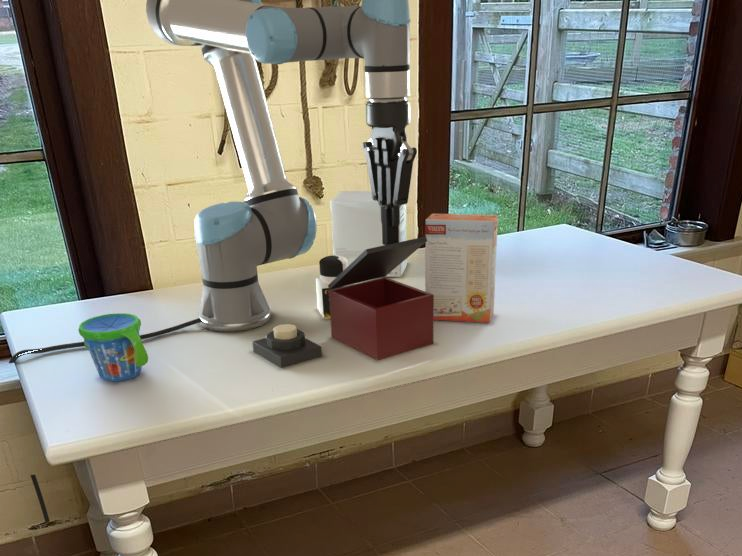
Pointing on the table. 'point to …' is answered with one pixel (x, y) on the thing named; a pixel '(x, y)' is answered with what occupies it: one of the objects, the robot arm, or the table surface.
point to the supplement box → (360, 226)
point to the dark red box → (382, 317)
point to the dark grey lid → (377, 262)
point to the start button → (285, 331)
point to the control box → (287, 349)
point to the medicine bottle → (328, 281)
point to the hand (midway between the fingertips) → (390, 243)
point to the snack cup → (115, 345)
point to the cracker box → (461, 266)
